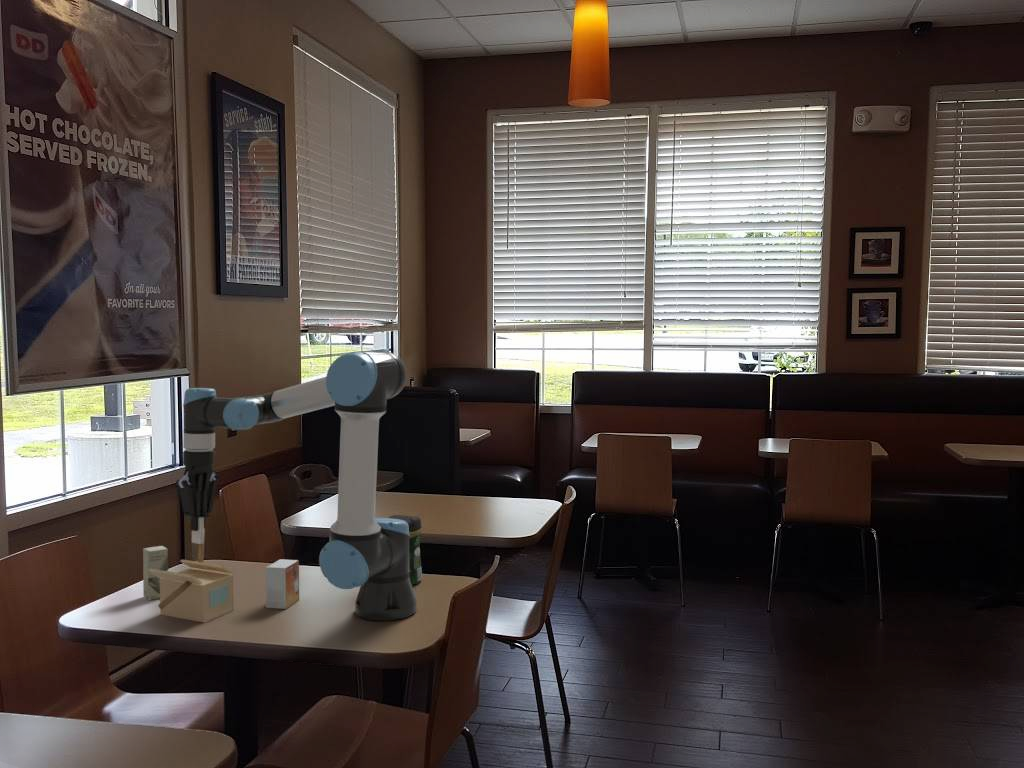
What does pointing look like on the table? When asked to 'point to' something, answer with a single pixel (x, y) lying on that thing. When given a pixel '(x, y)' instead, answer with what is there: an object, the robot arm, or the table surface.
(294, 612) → the table surface
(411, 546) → the coffee jar
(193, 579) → the left flap
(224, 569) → the right flap
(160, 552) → the box
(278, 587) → the small box
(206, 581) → the carton
